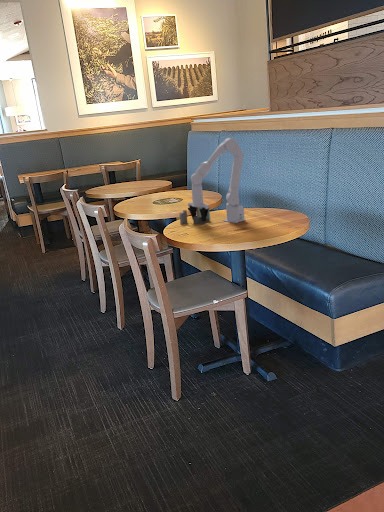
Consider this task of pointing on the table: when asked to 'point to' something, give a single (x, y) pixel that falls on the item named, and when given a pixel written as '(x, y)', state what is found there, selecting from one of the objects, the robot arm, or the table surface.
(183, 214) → the door frame
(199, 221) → the wedge
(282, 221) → the table surface
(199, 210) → the door
